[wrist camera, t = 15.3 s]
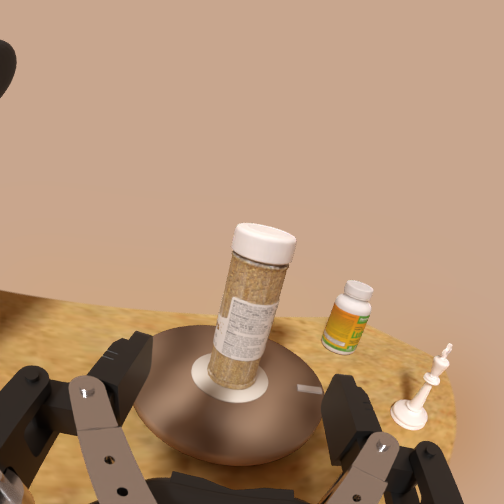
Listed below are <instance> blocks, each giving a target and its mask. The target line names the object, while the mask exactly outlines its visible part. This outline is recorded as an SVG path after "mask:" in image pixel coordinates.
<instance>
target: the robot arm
mask: <svg viewBox="0 0 504 504" xmlns="http://www.w3.org/2000/svg"><path fill="white" fill-rule="evenodd" d="M16 63H17V62H16V55H15V51H14V49H13V48H12V46H11V45H10V44H9V43H7V42H5V41H3V40H0V98H1V97H2V95H3V94H4V93H5V91H6V90H7V88H8V87H9V85H10V83H11V81H12V79H13V76H14V73H15V69H16ZM152 348H153V336H151V335H148V334H145V333H142V332H138V331H135V332H134V334H133V335H132V336H131V337H130V339H129V340H127V339H124V338H122V339H119V340H117V341H115V342H113V343H112V345H111V346H110V347H109V348H108V349H107V351H106V352H105V353H104V354H103V357H101V358H100V359H99V360H98V362H97V363H96V364H95V365H94V366H93V368H92V369H91V370H90V371H89V373H88V374H87V375H86V376H79V377H76V378H74V379H73V380H72V381H71V382H70V383H67V382H60V381H55V380H50V379H49V375H48V373H47V372H46V371H45V370H44V369H43V368H41V367H39V366H26V367H23V368H22V369H20V370H19V371H18V372H17V373H16V374H15V375H14V376H13V378H12V379H11V380H10V381H9V382H8V383H7V384H6V385H5V386H4V387H3V389H2V390H1V391H0V504H35V501H34V498H33V496H32V494H31V492H30V491H29V490H28V489H29V487H30V485H31V483H32V481H33V479H34V478H35V476H36V474H37V472H38V470H39V468H40V466H41V465H42V463H43V461H44V459H45V457H46V455H47V454H48V452H49V450H50V448H51V447H52V445H53V443H54V441H55V440H56V438H57V436H58V435H59V433H64V434H70V435H75V436H78V439H79V443H80V446H81V450H82V454H83V457H84V460H85V464H86V467H87V470H88V473H89V476H90V479H91V482H92V485H93V488H94V491H95V493H96V496H97V499H98V500H97V501H95V502H92V503H90V504H310V503H308V502H306V501H303V500H301V499H298V498H294V490H286V489H272V488H258V489H246V490H232V489H229V488H226V487H223V486H221V485H218V484H216V483H213V482H211V481H208V480H206V479H204V478H200V477H195V476H191V475H187V474H183V473H179V472H175V471H173V472H172V475H171V478H151V479H147V480H145V479H144V477H143V475H142V473H141V471H140V469H139V467H138V465H137V463H136V460H135V458H134V456H133V454H132V451H131V449H130V447H129V444H128V442H127V440H126V437H125V435H124V432H123V430H122V428H121V427H122V425H123V423H124V421H125V419H126V417H127V415H128V413H129V411H130V409H131V408H132V406H133V404H134V402H135V400H136V398H137V396H138V394H139V392H140V391H141V389H142V387H143V385H144V383H145V381H146V379H147V378H148V375H149V373H150V369H151V364H152ZM370 403H371V402H370V400H369V397H368V395H367V394H366V393H365V391H364V390H363V389H362V388H361V387H357V386H356V383H355V381H354V378H353V376H351V375H343V374H335V375H334V376H333V378H332V380H331V383H330V385H329V387H328V389H327V391H326V393H325V395H324V397H323V399H322V402H321V414H322V419H323V424H324V429H325V434H326V439H327V444H328V449H329V454H330V459H331V465H332V466H342V470H343V472H342V473H341V474H340V475H339V477H338V478H337V479H336V481H335V482H334V484H333V485H332V486H331V488H330V489H329V490H328V491H327V493H326V494H325V495H324V497H323V498H322V499H321V500H320V501H319V503H318V504H378V502H379V501H380V499H381V497H382V495H383V494H384V498H385V503H386V504H464V503H463V500H462V498H461V495H460V493H459V490H458V488H457V485H456V483H455V480H454V478H453V476H452V473H451V471H450V468H449V466H448V464H447V462H446V459H445V457H444V455H443V453H442V451H441V449H440V448H439V447H438V446H437V445H436V444H434V443H432V442H429V441H422V442H420V443H419V444H418V445H417V446H416V447H415V448H414V449H412V448H407V447H402V446H399V443H398V441H397V440H396V439H395V438H394V437H393V436H392V435H390V434H388V433H385V432H382V429H381V427H380V424H379V422H378V419H377V417H376V414H375V412H374V411H373V407H372V405H371V404H370ZM417 484H418V487H419V490H420V493H421V503H420V502H419V498H418V495H417V492H416V488H415V486H416V485H417Z"/></svg>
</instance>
